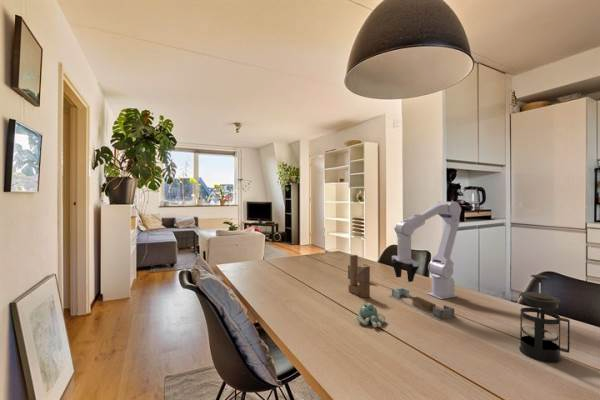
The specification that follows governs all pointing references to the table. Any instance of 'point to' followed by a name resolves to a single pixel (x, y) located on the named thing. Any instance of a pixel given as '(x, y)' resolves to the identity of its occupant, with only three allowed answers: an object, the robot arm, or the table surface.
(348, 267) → the architectural model on board
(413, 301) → the brown bar
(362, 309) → the stuffed animal
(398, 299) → the track
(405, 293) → the cap
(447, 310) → the grey c-shaped bracket
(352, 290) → the wooden block
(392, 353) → the table surface
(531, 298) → the french press
